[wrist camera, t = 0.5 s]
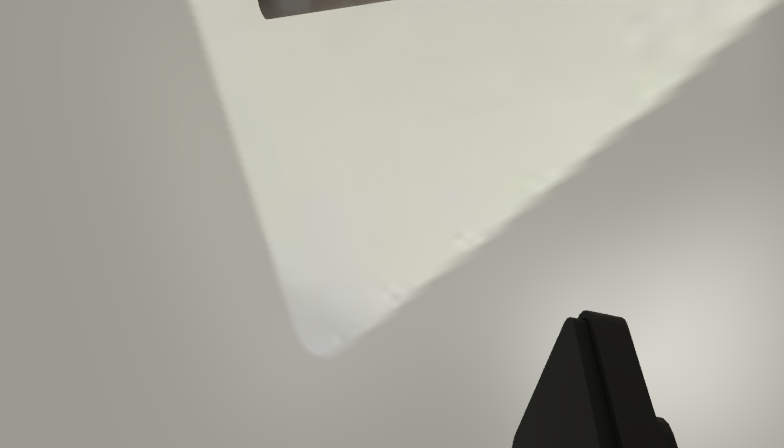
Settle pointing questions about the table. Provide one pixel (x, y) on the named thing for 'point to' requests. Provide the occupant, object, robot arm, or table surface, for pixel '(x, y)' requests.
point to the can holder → (305, 6)
